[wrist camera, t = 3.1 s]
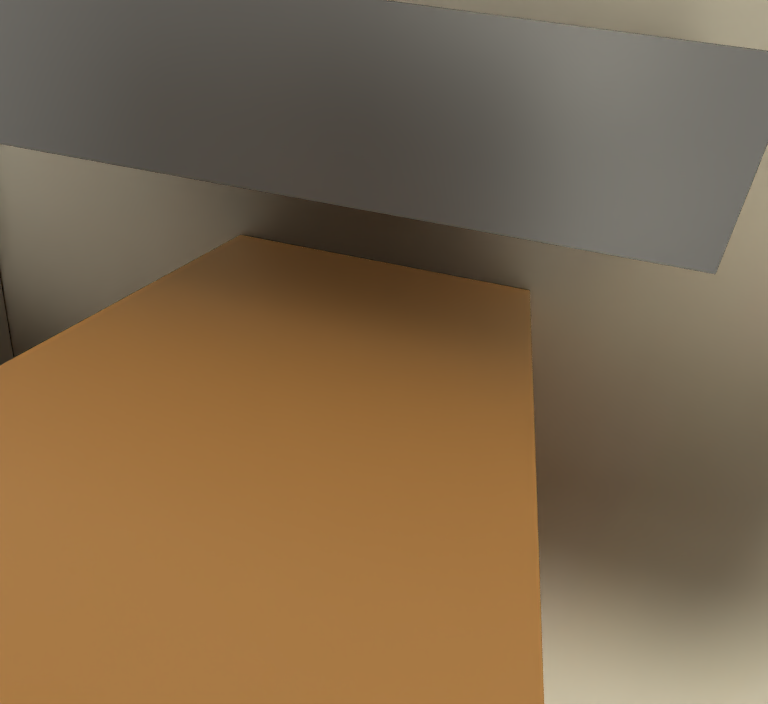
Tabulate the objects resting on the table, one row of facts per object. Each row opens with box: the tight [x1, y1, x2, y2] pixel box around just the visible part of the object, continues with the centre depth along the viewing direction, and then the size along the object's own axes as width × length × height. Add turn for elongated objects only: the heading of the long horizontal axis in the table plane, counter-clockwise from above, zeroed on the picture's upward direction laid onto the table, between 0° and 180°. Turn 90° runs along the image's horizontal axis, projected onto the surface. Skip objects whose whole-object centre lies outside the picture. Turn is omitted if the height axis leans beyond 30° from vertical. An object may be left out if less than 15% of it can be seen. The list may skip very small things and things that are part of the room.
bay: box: [0, 0, 768, 365], centre depth 11 cm, size 14×16×3 cm
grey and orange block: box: [0, 235, 544, 704], centre depth 8 cm, size 5×9×9 cm, turn 172°
